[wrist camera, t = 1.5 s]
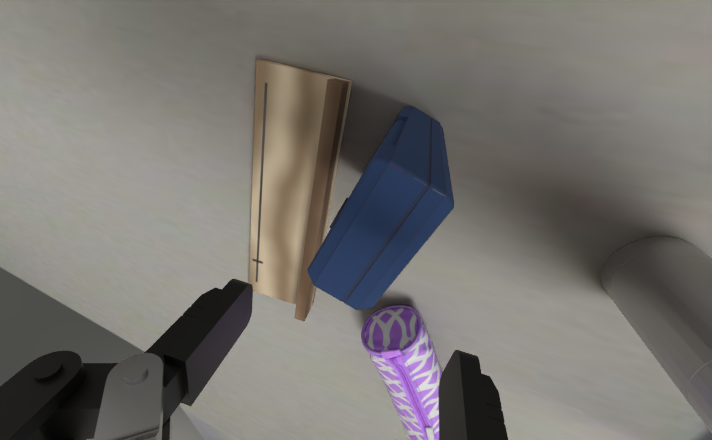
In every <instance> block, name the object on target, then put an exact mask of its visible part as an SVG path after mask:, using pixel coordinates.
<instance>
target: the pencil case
mask: <svg viewBox="0 0 712 440" xmlns="http://www.w3.org/2000/svg"><path fill="white" fill-rule="evenodd" d="M361 338H362V343H363V345H364V347H365V349H366V350H367V352H368V353H370V358H371V360H372V362H373V363H374V364H375V366H376V367H377V369H378V371H379V373H380V375H381V377H382V378H383V380H384V382H385V385H386V387H387V389H388V392H389V394H390V396H391V399H392V402H393V404H394V406H395V408H396V410H397V412H398V415H399V417H400V419H401V421H402V424H403V427H404V430H405V432H406V434H407V436H408V437H409V438H410V439H411V440H439V397H438V390H439V382H440V378H441V375H442V370H441V368H440V366H439V364H438V361H437V358H436V354H435V350H434V347H433V343H432V341H431V339H430V337H429V334H428V332H427V330H426V328H425V326H424V324H423V322H422V318H421V316H420V315H419V313H418V312H417V311H416V310H415V309H413V308H412V307H410V306H405V305H395V306H389V307H386V308H384V309H381V310H379V311H376V312H375V313H373V314H372V315H371V316H370V317H369V318H368V319H367V321H366V322H365V324H364V326H363V329H362V333H361Z"/></svg>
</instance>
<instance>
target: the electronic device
mask: <svg viewBox="0 0 712 440" xmlns="http://www.w3.org/2000/svg"><path fill="white" fill-rule="evenodd" d="M453 207H454V200H453V193H452V186H451V179H450V173H449V166H448V159H447V153H446V146H445V139H444V132H443V129H442V127H441V125H440V123H439V122H438V121H436V120H434V119H433V118H431V117H430V116H428V115H426V114H425V113H423V112H421V111H420V110H418V109H417V108H415V107H403V109H402V111H401V112H400V114H399V115H398V117H397V119H396V120H395V122H394V124H393V125H392V127H391V129H390V131H389V132H388V134H387V135H386V137H385V139H384V140H383V142H382V144H381V145H380V146H379V148H378V149H377V151H376V152H375V154H374V156H373V157H372V159H371V161H370V162H369V164H368V166H367V167H366V169H365V171H364V173H363V174H362V176H361V178H360V180H359V181H358V183H357V185H356V186H355V188H354V190H353V192H352V193H351V195H350V197H349V198H347V199H346V200H345V202H344V204H343V205H342V207H341V209H340V210H339V212H338V214H337V215H336V217H335V219H334V220H333V222H332V224H331V226H330V228H331V229H330V231H329V233H328V234H327V236H326V238H325V240H324V241H323V243H322V245H321V247H320V248H319V250H318V252H317V253H316V255H315V257H314V259H313V260H312V262H311V264H310V265H309V267H308V269H307V270H308V274H309V276H310V278H311V281H312V283H313V285H314V286H316V287H317V288H319V289H321V290H323V291H324V292H326V293H328V294H330V295H331V296H333V297H335V298H337V299H338V300H340V301H342V302H344V303H345V304H347V305H349V306H351V307H352V308H354V309H356V310H357V309H366V308H371V307H373V306H374V305H375V303H376V302H377V301H378V300H379V298H380V297H381V296H382V295H383V293H384V292H385V291H386V290H387V289H388V287H389V286H390V285H391V284H392V282H393V281H394V280H395V279H396V278H397V276H398V275H399V274H400V273H401V271H402V270H403V269H404V268H405V267H406V265H407V264H408V263H409V262H410V260H411V259H412V258H413V257H414V256H415V254H416V253H417V252H418V251H419V249H420V248H421V247H422V246H423V244H424V243H425V242H426V241H427V240H428V238H429V237H430V236H431V235H432V233H433V232H434V231H435V230H436V229H437V227H438V226H439V225H440V224H441V222H442V221H443V220H444V219H445V218H446V216H447V215H448V214H449V213H450V211H451V210H452V209H453Z"/></svg>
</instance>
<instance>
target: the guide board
mask: <svg viewBox="0 0 712 440" xmlns="http://www.w3.org/2000/svg"><path fill="white" fill-rule="evenodd" d="M351 86H352V81H351V80H347V79H343V78H339V77H334V76H330V75H326V74H322V73H318V72H314V71H309V70H305V69H301V68H297V67H293V66H289V65H284V64H280V63H276V62H272V61H268V60H264V59H256V86H255V117H254V147H253V178H252V209H251V239H250V270H249V284H252V286H253V291H255V292H258V293H261V294H264V295H267V296H271V297H274V298H277V299H280V300H283V301H286V302H289V303H292V304H296V310H295V319H298V320H302V321H305V319H306V317H307V315H308V313H309V311H310V309H311V307H312V305H313V303H314V297H315V291H316V286H314V285H313V283H312V281H311V278H310V276H309V274H308V270H307V269H308V267H309V265H310V264H311V262H312V260H313V259H314V257H315V255H316V253H317V252H318V250H319V248H320V247H321V245H322V243H323V241H324V240H325V234H326V229H327V223H328V217H329V212H330V206H331V200H332V195H333V189H334V183H335V178H336V172H337V166H338V160H339V155H340V149H341V143H342V138H343V132H344V126H345V121H346V115H347V109H348V104H349V98H350V92H351Z"/></svg>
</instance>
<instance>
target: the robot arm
mask: <svg viewBox="0 0 712 440" xmlns="http://www.w3.org/2000/svg"><path fill="white" fill-rule="evenodd" d="M601 283H602V286H603V288H604V289H605V291H606V292H607V293H608V295H609V296H610V297H611V299H612V300H613V301H614V303H615V304H616V305H617V307H618V308H619V310H620V311H621V312H622V314H623V315H624V317H625V318H626V319H627V321H628V322H629V323H630V325H631V326H632V327H633V329H634V330H635V331H636V333H637V334H638V335H639V337H640V338H641V339H642V341H643V342H644V343H645V345H646V346H647V347H648V349H649V350H650V351H651V353H652V354H653V355H654V357H655V358H656V359H657V361H658V362H659V363H660V365H661V366H662V367H663V369H664V370H665V371H666V373H667V374H668V375H669V377H670V378H671V379H672V381H673V382H674V383H675V385H676V386H677V387H678V389H679V390H680V391H681V393H682V394H683V395H684V397H685V398H686V399H687V401H688V402H689V403H690V405H691V406H692V407H693V408H694V410H695V411H696V412H697V414H698V415H699V416H700V418H701V419H702V420H703V422H704V423H705V424H706V426H707V427H708V429H709V430H710V431H711V433H712V258H710V257H709V256H708V255H706V254H705V253H703V252H702V251H701V250H699V249H698V248H696V247H695V246H693V245H692V244H690V243H688V242H686V241H684V240H682V239H678V238H674V237H665V236H660V237H649V238H644V239H640V240H637V241H634V242H631V243H629V244H627V245H625V246H623V247H621V248H620V249H619V250H617V251H616V252H615V253H613V254H612V255H611V256H610V257H609V258H608V259H607V261H606V262H605V264H604V266H603V268H602V271H601ZM252 295H253V286H252V284H249V283H246V282H243V281H240V280H236V279H232V280H230V281H229V282H228V284H227V285H226V286H225V287H224V288H223V289H222V290H221V289H218V288H214V289H212V290H210V291H208V292H206V293H204V294H202V295H201V296H200V297H199V298H198V299H197V300H196V301H195V302H194V303H193V304H192V306H191V307H189V308H188V309H187V310H186V311H185V313H184V314H183V316H181V317H180V318H179V319H178V320H177V321H176V322H175V323H174V324H173V325H172V326H171V327H170V328H169V329H168V330H167V331H166V332H165V333H164V334H163V335H162V336H161V337H160V338H159V339H158V340H157V341H156V342H155V343H154V344H153V345H152V346H151V347H150V348H149V349H148V350H147V351H146V352H144V353H139V354H135V355H132V356H129V357H127V358H126V359H124V360H122V361H121V362H119V363H112V364H110V363H106V364H105V363H103V364H102V363H82V361H81V358H80V356H79V355H78V354H76V353H74V352H71V351H57V352H53V353H49V354H46V355H44V356H41V357H39V358H38V359H36V360H34V361H32V362H31V363H29V364H28V365H27V366H25V367H24V368H23V369H22V370H21V371H19V372H18V373H17V374H15V375H14V376H13V377H12V378H10V379H9V380H8V381H7V382H5V383H4V384H3V385H2V386H1V387H0V440H86V439H91V438H94V440H171V437H172V413H173V412H174V411H175V409H176V408H177V407H178V405H179V404H180V403H184V404H186V405H189V406H191V405H192V404H193V403H194V401H195V400H196V398H197V397H198V395H199V394H200V392H201V391H202V390H203V388H204V387H205V385H206V384H207V382H208V381H209V380H210V378H211V377H212V375H213V374H214V372H215V371H216V369H217V368H218V367H219V365H220V364H221V362H222V361H223V359H224V358H225V357H226V355H227V354H228V352H229V351H230V349H231V348H232V346H233V345H234V344H235V342H236V341H237V339H238V338H239V336H240V335H241V333H242V332H243V331H244V329H245V328H246V326H247V324H248V322H249V320H250V317H251V313H252ZM438 397H439V440H508V437H507V432H506V427H505V425H504V417H503V412H502V411H501V409H502V407H501V402H500V397H499V392H498V390H497V388H496V387H495V385H494V383H493V381H492V379H491V378H490V376H487V375H484V374H481V369H480V363H479V359H478V357H477V356H475V355H472V354H469V353H465V352H462V351H459V350H455V351H454V353H453V355H452V356H451V358H450V360H449V362H448V364H447V366H446V367H445V369H444V371H443V373H442V375H441V378H440V382H439V390H438Z"/></svg>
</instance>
